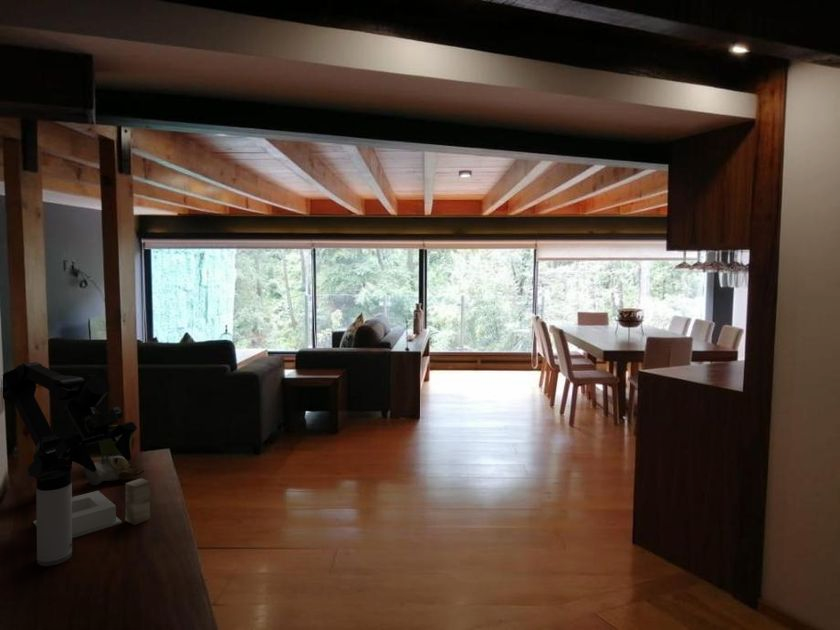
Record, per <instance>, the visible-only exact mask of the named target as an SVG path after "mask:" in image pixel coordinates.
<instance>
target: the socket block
mask: <svg viewBox="0 0 840 630" xmlns="http://www.w3.org/2000/svg"><path fill="white" fill-rule="evenodd" d="M122 523H123V521H122V520H121V519H120V518H119V517H117V505H116V504H114V503H113V502H112V501H111V500H110V499H109V498H108V497H106V496H105V495H104V494H103V493H101V491H100V490H95V491H92V492H88V493H84V494H80V495H75V496H72V539H74V538H79V537H81V536H84V535H88V534H91V533H94V532H98V531H101V530H104V529H107V528H111V527H114V526H117V525H118V526H119V525H121V524H122ZM33 524H34V526H35V527H36V528H37V519H36V520H33Z"/></svg>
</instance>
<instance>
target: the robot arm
mask: <svg viewBox="0 0 840 630" xmlns="http://www.w3.org/2000/svg"><path fill="white" fill-rule="evenodd" d="M2 376H3V397H2V399H4V401H6V402H8V403H10V404H12V405H14V406H15V408H16V410H17V412H18V414H19V416H20V419H21V421H22V422H23V424H24V427H25V428H26V430H27V432H28V434H29V436H30V438H31V440H32V441H33V444H34V446H35V448H34V452H33V455H32V458H33V461H32V462H31V464H30V465H29V466H28V467H27V471H28V472H27V473H28V476H29V477H32V478H35V479H37V475H38V474H39V473H41V472H43V471H45V470H47V469H50V468H54V467H60V466H64V465H70V466H72V465H73V463H76V464H78V465H80V466H81V467H83V468H84V469H85V468H87V469H88V470H90V471H92V472H95V471H96V470H97V469H96V467H95V464H94V463H95V462H94V460H93V459H92V458H91V456H90V454H89V452H88V449H87V446H88V445H92V444H96V443H99V442H101V441H104V440H108V439H112V440H113V441H114V442H116V443H115V447H116V448H117V449H118V450H119V452H120V453H121V454H122V455H123V457H124V458H125V459H126V460H127V461H128V462H130V460H131V459H132V455H131V448H130V445H129V442H130V437H131V435H132V434H133V433H134V434H135V432H136V430H137V429H138V427H137V426H136V424H135V423H134V422H133V421H127V422H123V423H119V424H117V425H118V426H117V427H116V428H115V430H114V431H110V432H108V429H110V428H111V427H112V424H115V423H118V422H119V420H121V419H123V417H124V414H123V411H122V410H121V408H120V406H116V407H115V406H114V407H111V408H110V409H109V411H104V412H102V411H101V412H98V410H97V409H96V407H97V406H99V404H100V403H101V402H102V401H103V400H104V398H105V396H106V395H107V394H108V393H109V391H110V389H111V386H110V384H109V382H108V381H106V380H105V379H103V378H100V377H97V375H96V374H87V375H86V376H85V378H83V377H82V376H76V375H63V374H61V373H59V372H57V371H55V370H52V369H50V368H48V367H46V366H45V365H42V363H40V362H37V361H35V362H27V363H26V362H25V363H21V364H19V365H17V366H16V367H15V368H13V369H12V370H10V371H8V372H6V373H4V374H2ZM37 385H39V386H41V387H42V388H44V389H47V390H48V391H49V394H48V395H49V396H50V397H51V398H53V399H54V400H55V401H56V402H59V403H60V402H64V401H68V403H65V405H64V408H63V411H62V414H63V415H64V416H65V415H69V417H70V418H71V419H70V420H71V421H72V422H73V425H74V428H73V430H74V432H75V433H77V432H78V433H79V434H74V435H71V436H66V437H65V436H62V437H57V436H56V435H55V433H54V431H53V429H52V428H51V425H50V423H49V422H48V420H47V418H46V416H45V413H44V412H43V410H42V409H41V406H40V405H39V403H38V400H37V398H36V397H35V393H36V391H37V387H38V386H37ZM72 467H73V466H72ZM36 492H37V490H36V491H35V493H36Z"/></svg>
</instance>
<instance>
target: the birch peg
mask: <svg viewBox="0 0 840 630" xmlns="http://www.w3.org/2000/svg"><path fill="white" fill-rule="evenodd" d="M124 501H125V503H124V504H125V507H124V508H125V517H124V518H125V522H127V523H129V524H131V525H134V526H135V525H138V524H141V523H143V522H146V521H149V520H150V519H151V512H150V511H151V481H149V480H146V479H144V478H142V477H141V478H137V479H134V480H131V481H128V482H125V500H124Z"/></svg>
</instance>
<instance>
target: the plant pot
mask: <svg viewBox="0 0 840 630" xmlns="http://www.w3.org/2000/svg"><path fill="white" fill-rule="evenodd" d="M111 425H112V424H111ZM118 425H119V424H116V425H115V424H114V425H112V427H111V428H110V429H108V432H110V431H114V430H115V428H116V427H117V426H118ZM134 435H135V432H134V433H133V434H132V435H131V437H130V442H129V445H130V449H132V448H131V447H132V442H133V438H134ZM115 443H116V442H114V441H113V440H112V439H108V440H104V441H101V442H98V445H99V450H100V454H101V455H100V456H101V459H102V458H103V457H105V456H106V455H108V454H110V453H112V454H113V456H117V455H119V456H122V457H123V455H122V454H121V453H120V452H119V450H118V449H117V448H116V447H115Z"/></svg>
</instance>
